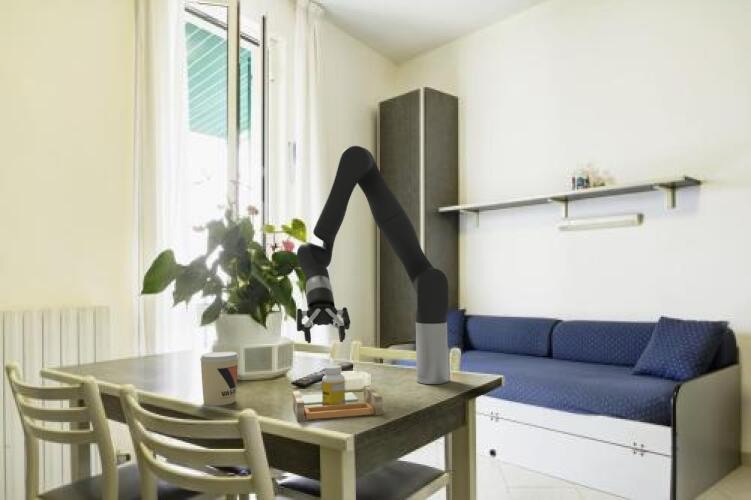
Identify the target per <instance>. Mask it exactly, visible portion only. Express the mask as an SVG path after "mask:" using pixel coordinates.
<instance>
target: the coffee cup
mask: <svg viewBox="0 0 751 500" xmlns="http://www.w3.org/2000/svg"><path fill="white" fill-rule="evenodd" d="M199 360H200V368H201V369H200V370H201V387H202V399H203V404H204V405H205V406H226V405H231V404H233V403H235V402H236V398H237V381H238V369H239V365H238V364H239V354H238V352H236V351H214V352H207V353H202V355H201V357H200V359H199Z"/></svg>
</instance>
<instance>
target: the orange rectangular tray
mask: <svg viewBox="0 0 751 500" xmlns="http://www.w3.org/2000/svg"><path fill="white" fill-rule="evenodd" d="M371 416H374V413H373V407H372V406H371V405H370V404H369V403H364V402H357V403H345V404H341V405H328V406H323V405H318V406H317V405H316V406H306V407H305V406H304V420H305V421H306V422H310V421H320V420H321V421H322V420H323V421H324V420H333V419H335V420H336V419H347V418H357V417H360V418H361V417H371Z"/></svg>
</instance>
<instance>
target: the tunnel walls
mask: <svg viewBox="0 0 751 500" xmlns="http://www.w3.org/2000/svg"><path fill="white" fill-rule="evenodd" d="M291 396H292V410H293V414H294V416H295V419H296V422H298V423H299V422H301V423H302V422H305V416H304V407H305V405H304V401H303V399H302V396H303V395H301V392H300V390H292V395H291ZM363 403H369V404H370V405H371V406H372V407H373V415H375V416H382V415H383V397H382V395H381V394H380V393H378V392H377V391H376V390H375V389H374V388H373V387H372V386H370V385H363Z"/></svg>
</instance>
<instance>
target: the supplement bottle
mask: <svg viewBox="0 0 751 500" xmlns="http://www.w3.org/2000/svg"><path fill="white" fill-rule="evenodd" d="M324 373H325V375H324V376H322V378H321V379H322V380H321V384H322V385H321V387H322V388H321V389H322V390H321V391H322V393H321V394H322V403H321V404H322V406H328V405H341V404H346V402H345V393H346V389H345V387H346V382H345V381H346V379H345V376H344V375H343V374H341V373H342V365H340V364H339V365H337V364H331V365H326V366H324Z"/></svg>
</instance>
